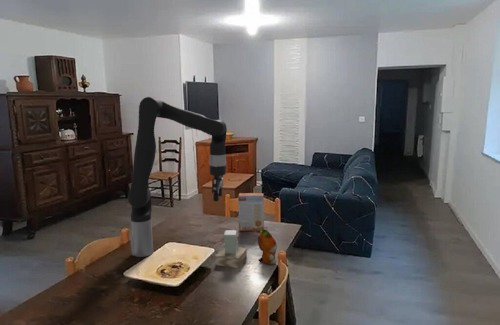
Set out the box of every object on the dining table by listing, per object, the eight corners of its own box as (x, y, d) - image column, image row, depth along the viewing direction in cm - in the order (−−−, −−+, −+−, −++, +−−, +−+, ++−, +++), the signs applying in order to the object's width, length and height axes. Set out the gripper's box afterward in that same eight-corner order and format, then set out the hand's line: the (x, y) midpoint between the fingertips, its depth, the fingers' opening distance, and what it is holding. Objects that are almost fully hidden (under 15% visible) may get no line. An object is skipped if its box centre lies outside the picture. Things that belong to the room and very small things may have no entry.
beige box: (215, 265, 164) (214, 255, 163) (224, 255, 174) (224, 245, 173) (238, 269, 160) (238, 258, 159) (247, 258, 171) (247, 248, 170)
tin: (224, 253, 164) (224, 234, 162) (225, 249, 169) (225, 230, 168) (236, 253, 164) (235, 234, 162) (236, 248, 169) (236, 230, 167)
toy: (275, 266, 161) (275, 234, 158) (255, 265, 163) (255, 233, 160) (278, 256, 172) (278, 225, 169) (260, 254, 173) (259, 224, 171)
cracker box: (264, 228, 209) (264, 192, 206) (263, 231, 203) (263, 195, 200) (240, 227, 211) (239, 192, 207) (238, 231, 205) (238, 195, 201)
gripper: (212, 161, 174) (212, 194, 176) (206, 166, 160) (206, 202, 162) (228, 161, 173) (228, 194, 176) (223, 167, 159) (223, 203, 162)
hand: (217, 198), depth 169 cm, fingers open, 8 cm apart
